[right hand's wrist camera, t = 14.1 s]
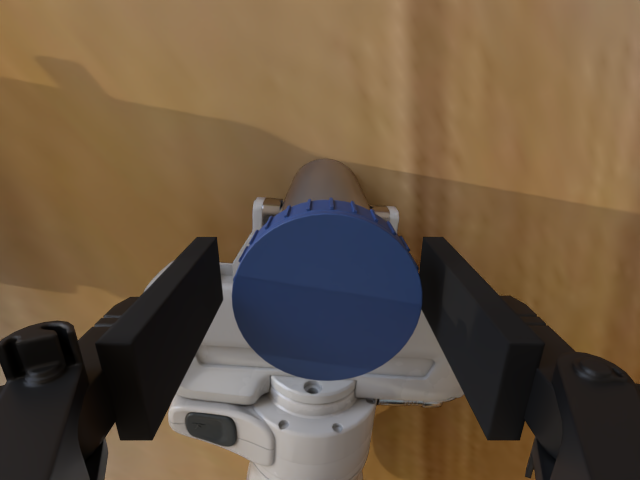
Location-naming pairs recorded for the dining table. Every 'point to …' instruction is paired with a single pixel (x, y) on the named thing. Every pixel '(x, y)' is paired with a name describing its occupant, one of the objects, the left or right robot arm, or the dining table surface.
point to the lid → (327, 291)
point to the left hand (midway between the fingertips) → (325, 203)
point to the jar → (324, 184)
